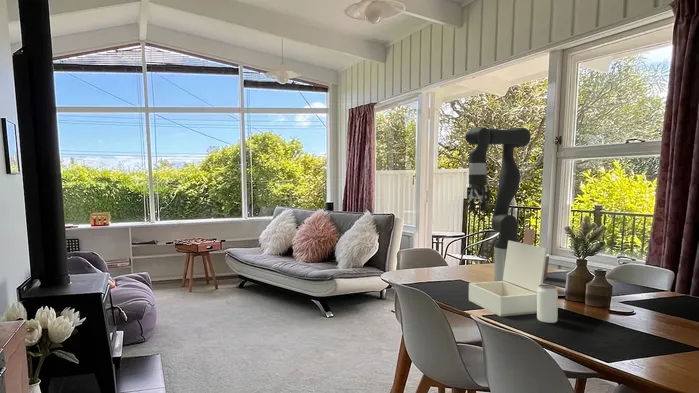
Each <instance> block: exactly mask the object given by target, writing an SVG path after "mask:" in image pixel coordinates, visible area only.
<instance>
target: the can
mask: <svg viewBox="0 0 699 393" xmlns="http://www.w3.org/2000/svg"><path fill="white" fill-rule="evenodd" d="M536 293H537V313H536V318H537V320H538V322H542V323H546V324H555V323H557V322H558V316H559V314H558V311H559V310H558V302H559V300H558V299H559V298H558V296H559V295H558V294H559V293H558V290H557V286H556V285H552V284H542V285H539V288H538V289H537V292H536Z"/></svg>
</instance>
